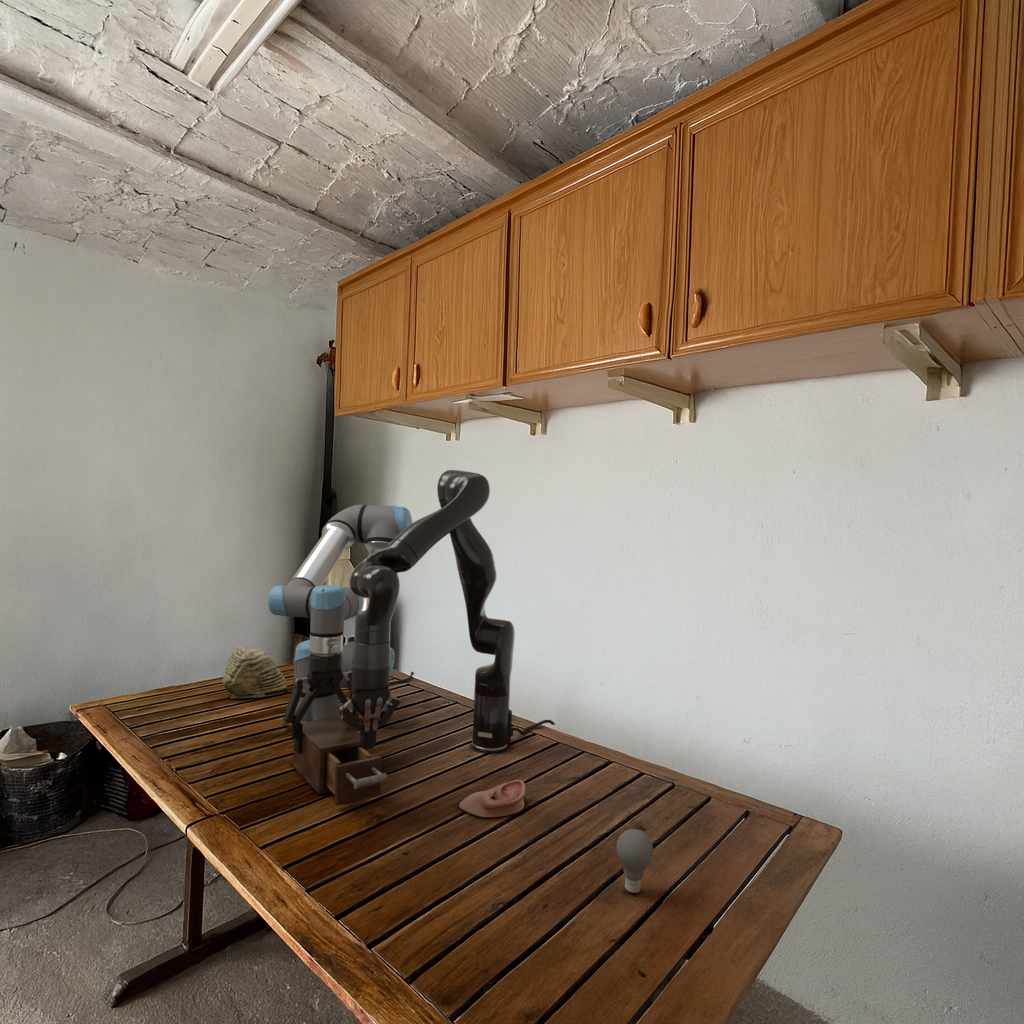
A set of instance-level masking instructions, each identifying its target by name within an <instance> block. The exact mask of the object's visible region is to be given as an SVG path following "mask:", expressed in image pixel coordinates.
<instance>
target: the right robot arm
mask: <svg viewBox="0 0 1024 1024" xmlns="http://www.w3.org/2000/svg"><path fill="white" fill-rule="evenodd" d="M436 488H437V489H436V490H437V491H436V492H437V498H438V503H439V505H440V508H439V509H438V510H436V511H434V512H432V513H430V514H428V515H425V516H423V517H421V518H419V519H417V520H416V521H412V524H410V525H409V526H407V527H406V528H405V529H404V530H403V531H402V532H400V533H399V534H398V535H397V536H396V537H395V538H394V539H393V540H392V541H391V542H390V543H389V544H388V545H387V546H386V547H384V548H382V549H380V550H379V551H377V552H375V553H374V554H372V555H371V556H369V555H368V556H367V557H366V558H364V559H363V560H362V561H360V562H359V563H358V564H357V565H356V566H355V567H354V569H353V570H352V572H351V574H350V577H349V587H350V588H351V590H352V592H353V593H354V594H356V595H357V596H360V597H363V598H368V599H369V605H368V608H367V610H365V611H362V612H360V613H359V612H358V613H357V614H356V615H355V621H354V632H355V637H354V640H355V641H354V647H353V655H352V681H351V688H352V690H351V693H349V696H348V701H347V702H346V703H345V704H344V705H341V704H340V705H339V707H338V710H339V711H340V712H341V714H342V715H343V716H344V717H345V718H346V720H347V721H348V722H349V723H350V724H351V726H352V727H353V728H354V729H355V730H356V731H358V732H359V733H360V744H361V746H362V747H363V748H364V749H365V750H367V751H369V750H373V749H374V746H376V743H377V730H378V729H379V728H380V727H385V726H386V725H387V723H388V721H389V720H390V719H391V717H392V716H393V714H394V713H395V711H396V710H397V708H398V707H399V705H400V703H401V701H400V699H398V698H397V697H395V696H393V695H392V694H391V693H392V691H391V690H390V684H389V682H391V681H390V680H391V676H390V656H391V650H390V647H391V621H392V619H393V615H394V612H395V608H396V604H397V601H398V598H399V594H400V589H401V583H400V582H401V581H400V577H399V575H398V574H399V573H406V572H409V571H410V570H411V569H412V568H414V567H415V566H416V565H417V564H418V563H419V562H420V561H421V560H422V559H423V557H424V556H425V555H426V554H427V553H428V552H429V551H430V550H431V549H432V548H433V547H434V546H435V545H437V543H438V542H440V541H441V540H442V539H443V538H444V537H446V536H447V535H449V536H450V537H449V538H450V540H451V544H452V545H451V546H452V549H453V552H454V553H453V554H454V557H455V562H456V568H457V573H458V577H459V581H460V584H461V589H462V593H463V594H462V595H463V598H464V603H465V609H466V618H467V624H468V625H467V627H468V635H469V636H468V637H469V640H470V645H471V647H472V649H473V650H474V651H475V652H476V653H478V654H484V655H489V656H490V655H491V656H494V661H493V663H490V664H486V665H481V666H479V667H477V668H476V669H475V674H474V693H473V694H474V695H473V717H472V718H473V720H472V737H471V747H472V748H473V749H474V750H476V751H478V752H482V753H501V752H503V751H505V750H507V749H509V748H511V745H512V737H514V732H517V733H519V734H520V735H525V734H526V733H527V732H528V731H531V730H533V729H536V728H538V727H540V726H541V725H544V724H550V725H552V726H555V725H556V723H555V722H554V721H553V720H552V719H543V720H540V721H539V722H537V723H535V724H533V725H532V724H531V725H530V726H527V727H525V728H523V729H521V728H519V727H515V726H513V725H512V723H513V711H512V709H510V701H511V699H510V697H511V696H510V695H511V678H512V677H511V676H512V669H513V664H514V650H515V640H516V630H515V627H514V624H513V622H512V621H510V620H506V619H498V618H492V617H491V618H490V617H488V616H487V614H486V602H487V600H488V598H489V596H490V594H491V593H492V591H493V589H494V586H495V584H496V581H497V576H498V575H497V569H496V563H495V557H494V553H493V551H492V549H491V547H490V546H489V544H488V542H487V541H486V539H485V538H484V537H483V536H482V534H481V533H480V532H479V530H478V528H477V527H476V525H475V523H474V522H473V520H472V517H473V516H475V515H476V514H477V513H479V512H480V511H481V510H482V509H483V508H484V507H485V506H486V504H487V503H488V501H489V498H490V495H491V486H490V483H489V480H488V478H487V477H485V476H484V475H483V474H480V473H478V472H472V471H467V470H466V471H465V470H458V469H447V470H445V471H444V472H442V473H441V475H440V476H439V478H438V481H437V487H436ZM352 706H354V708H355V709H356V710H357V711H358V712H357V715H358V719H359V721H358V719H357V718H356V717H355V716H353V715H352V712H353V708H352Z"/></svg>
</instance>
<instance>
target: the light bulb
mask: <svg viewBox="0 0 1024 1024" xmlns="http://www.w3.org/2000/svg"><path fill="white" fill-rule="evenodd" d="M615 849H616V854H617V857H618V859H619V861H620V863H621V865H622V867H623V873H624V874H623V875H624V876H625V878H624V888H625V890H627V891H628V892H630V893H634V894H635V893H639V892H640V891H641V889H642V887H641V886H642V879H643V877H644V875H645V871H646V868H647V867H648V866H649V864H650V863H651V861H652V859H653V855H654V847H653V843H652V841H651V838H649V836H648V835H647V834H646V833H645V832H643V831H642V830H641V829H636V828H629V829H627V830H625V831H623V832H622V833H621V834H620V835H619V837H618V839H617V841H616V847H615Z"/></svg>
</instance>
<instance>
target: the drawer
mask: <svg viewBox="0 0 1024 1024" xmlns="http://www.w3.org/2000/svg"><path fill="white" fill-rule="evenodd" d="M387 781H388V774H387V773H386V772H382V756H380V755H376V756H372V754H371V753H369V752H368V750H367V751H366V750H364V749H363V748H362V747H361V746H355V747H350V748H345V749H341V750H336V751H331V752H326V753H325V773H324V784H325V785H326V786H327V787H328V788H329V789H330V790H331V791H332V792H331V793H332V794H333V796H334V804H335V805H336V806H340V805H343V804H347V803H351V802H355V801H359V800H362V799H365V798H371V797H373V796H377V795H380V794H381V784H382V783H386V782H387Z"/></svg>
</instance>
